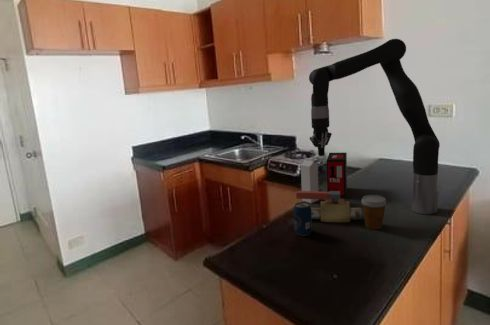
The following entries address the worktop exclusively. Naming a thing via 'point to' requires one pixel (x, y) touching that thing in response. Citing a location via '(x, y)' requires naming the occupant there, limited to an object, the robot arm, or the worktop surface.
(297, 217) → the soda can
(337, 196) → the lever
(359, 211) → the pipe valve
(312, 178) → the milk
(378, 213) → the disposable coffee cup
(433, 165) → the robot arm
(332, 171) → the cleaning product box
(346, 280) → the worktop surface
